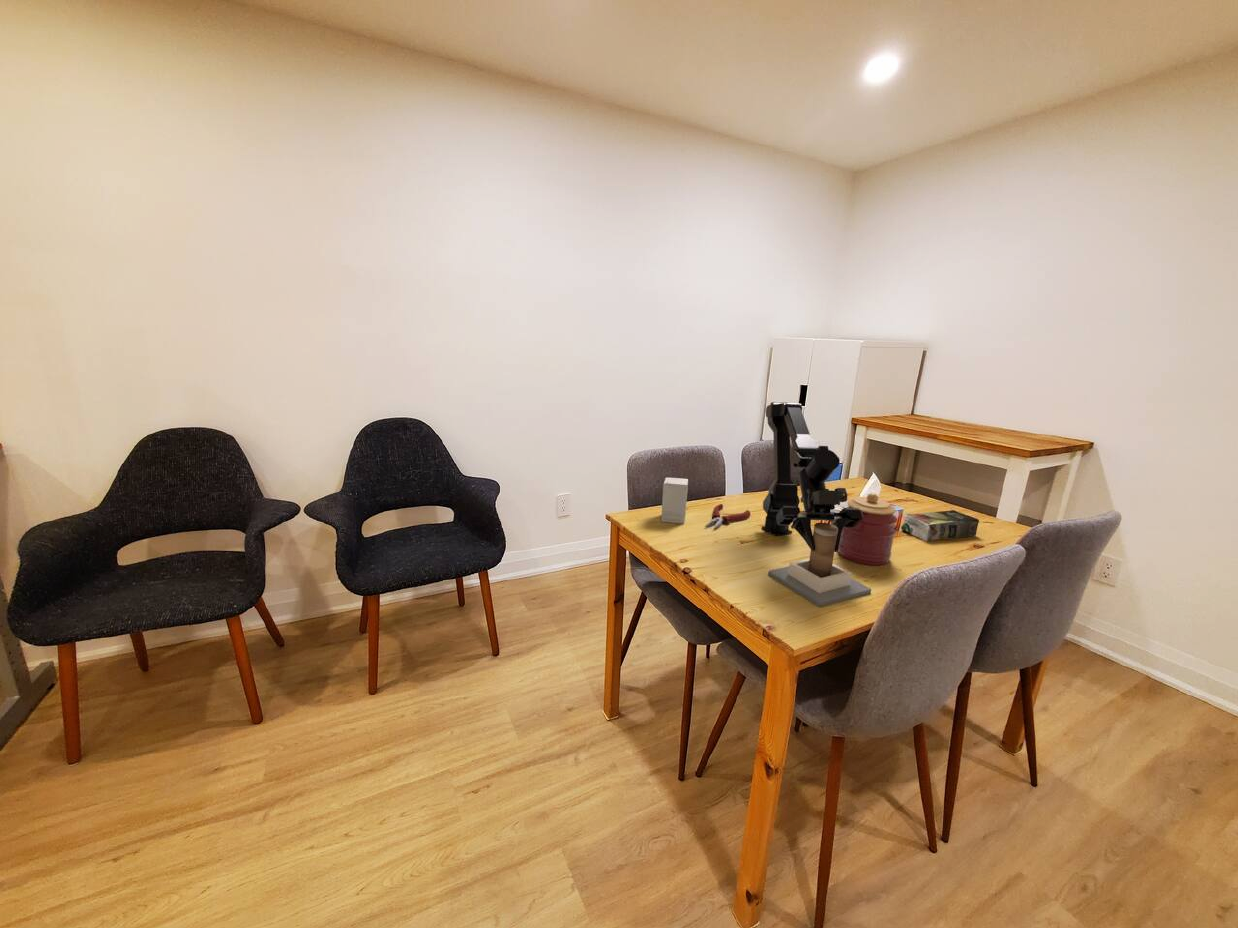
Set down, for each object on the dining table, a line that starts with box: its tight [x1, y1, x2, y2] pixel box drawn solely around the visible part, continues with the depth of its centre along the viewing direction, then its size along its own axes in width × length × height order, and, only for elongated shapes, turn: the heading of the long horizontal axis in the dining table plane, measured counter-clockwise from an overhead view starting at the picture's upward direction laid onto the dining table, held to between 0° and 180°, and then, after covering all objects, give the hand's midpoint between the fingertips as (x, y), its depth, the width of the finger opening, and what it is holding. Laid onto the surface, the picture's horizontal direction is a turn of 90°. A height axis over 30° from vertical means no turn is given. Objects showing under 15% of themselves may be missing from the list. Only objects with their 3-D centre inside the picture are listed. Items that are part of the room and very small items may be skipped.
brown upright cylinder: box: [808, 522, 838, 578], centre depth 113 cm, size 5×5×12 cm
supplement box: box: [660, 477, 689, 525], centre depth 152 cm, size 7×7×13 cm
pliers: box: [704, 503, 751, 530], centre depth 153 cm, size 12×20×3 cm, turn 145°
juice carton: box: [900, 509, 980, 542], centre depth 148 cm, size 20×10×6 cm, turn 106°
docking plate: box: [767, 558, 872, 608], centre depth 114 cm, size 16×16×4 cm
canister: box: [837, 492, 899, 566], centre depth 129 cm, size 13×13×18 cm
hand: (825, 550), depth 111 cm, fingers closed on brown upright cylinder, 5 cm apart
